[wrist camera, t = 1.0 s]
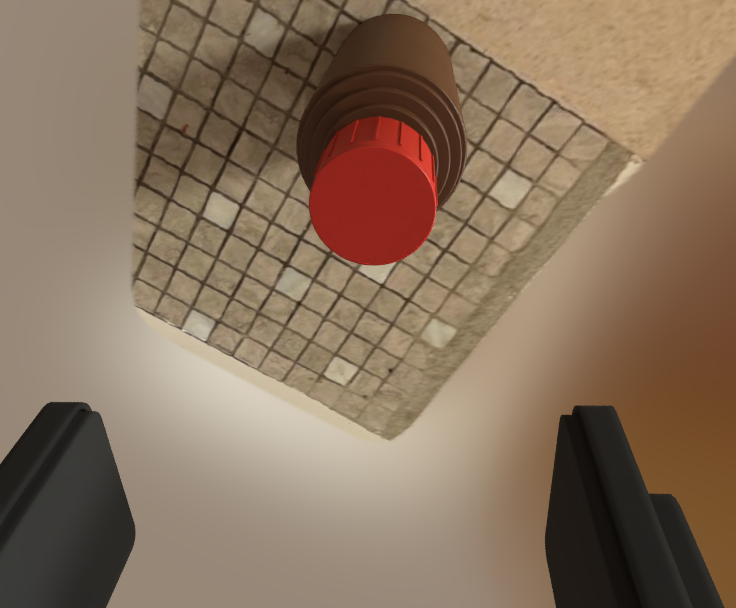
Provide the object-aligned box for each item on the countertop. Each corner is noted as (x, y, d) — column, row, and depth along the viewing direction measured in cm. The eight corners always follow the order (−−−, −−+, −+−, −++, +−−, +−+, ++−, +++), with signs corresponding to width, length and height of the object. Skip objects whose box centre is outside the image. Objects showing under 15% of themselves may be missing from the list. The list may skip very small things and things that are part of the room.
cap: (299, 183, 24) (283, 220, 21) (364, 91, 22) (356, 118, 19) (390, 245, 25) (386, 288, 22) (459, 161, 23) (464, 196, 20)
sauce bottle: (311, 90, 37) (233, 221, 22) (379, -14, 34) (346, 51, 19) (404, 158, 39) (394, 325, 23) (477, 64, 36) (521, 183, 20)
